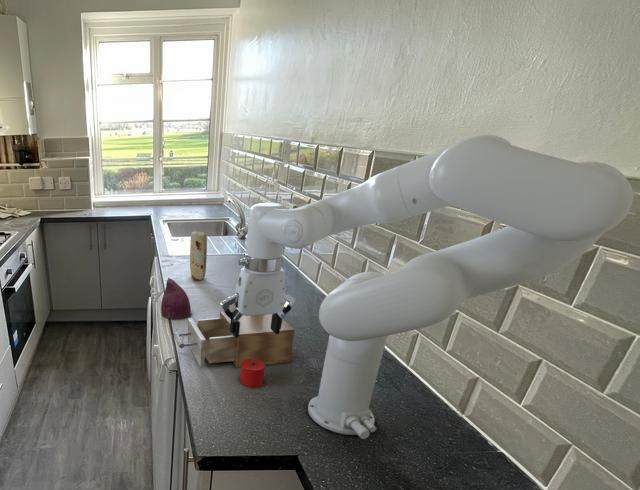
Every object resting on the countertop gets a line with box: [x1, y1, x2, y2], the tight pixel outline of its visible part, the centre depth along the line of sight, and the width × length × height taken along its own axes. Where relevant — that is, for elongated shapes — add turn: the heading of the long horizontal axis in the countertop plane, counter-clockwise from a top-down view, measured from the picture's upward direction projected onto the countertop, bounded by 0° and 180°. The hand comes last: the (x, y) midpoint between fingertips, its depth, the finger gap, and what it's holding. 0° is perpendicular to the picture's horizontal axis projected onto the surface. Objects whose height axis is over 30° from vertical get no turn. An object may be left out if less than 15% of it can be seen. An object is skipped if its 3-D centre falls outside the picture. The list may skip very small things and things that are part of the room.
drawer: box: [173, 317, 238, 368], centre depth 109 cm, size 18×14×8 cm
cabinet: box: [219, 310, 296, 368], centre depth 110 cm, size 15×15×10 cm
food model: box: [189, 230, 208, 281], centre depth 166 cm, size 10×7×20 cm
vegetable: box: [160, 277, 192, 320], centre depth 134 cm, size 10×10×15 cm
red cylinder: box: [239, 359, 266, 388], centre depth 98 cm, size 5×5×6 cm
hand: (254, 333), depth 93 cm, fingers open, 9 cm apart
